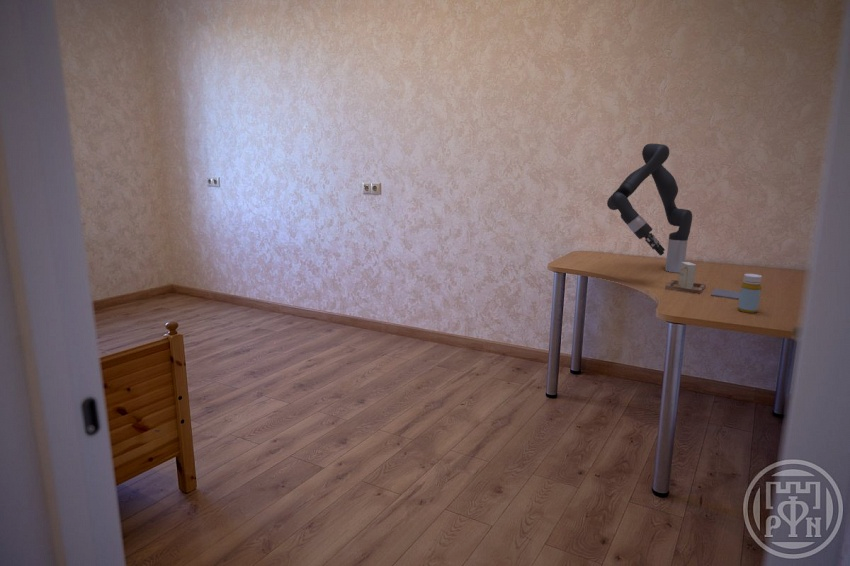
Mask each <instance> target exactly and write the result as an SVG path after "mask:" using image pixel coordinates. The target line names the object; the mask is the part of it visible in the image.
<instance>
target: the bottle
mask: <svg viewBox="0 0 850 566" xmlns="http://www.w3.org/2000/svg"><path fill="white" fill-rule="evenodd" d="M762 279H763V278H762V275H761V274H756V273H744V275H743V280H742V281H743V282H742V283H741V287H740V291H739V292H740V298H739V300H738V306H737V309H738V310H739V311H740V312H742V313H747V314H755V313H757V312H758V310H759V305H760V299H761V292H762V285H761V283H762Z"/></svg>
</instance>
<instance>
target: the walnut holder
mask: <svg viewBox="0 0 850 566" xmlns="http://www.w3.org/2000/svg"><path fill="white" fill-rule="evenodd" d="M678 281H679V280H675V279H671V280H670V281H669V282H668V283H667V284H666V285H665V286H664V287H665V288H664V290H667V289H670V290H669V291H674V290H676V292H681V291H683V292H684V293H688V292H689V293H690V294H695V293H698V294H697V295H701V294H700V293H702V292H703V291H704V290H705V289H706V284H705V283H699V282H698V283H697V282H694V283H693V286H694V287H693V289H690V288H682V287H678V286H674V285H678ZM696 288H697V289H696ZM704 288H705V289H704ZM683 292H682V293H683Z"/></svg>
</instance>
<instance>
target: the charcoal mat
mask: <svg viewBox="0 0 850 566" xmlns="http://www.w3.org/2000/svg"><path fill="white" fill-rule="evenodd" d="M740 292H741V291H734V290H728V289H721V288H715V289H713V291H712V292H711V294H710V296H711V297H716V296H717V298H718V297H719V298H723V297H724V299H725V298H726V299H730V298H731V299H732V300H738V301H739V298H740Z"/></svg>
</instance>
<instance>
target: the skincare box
mask: <svg viewBox="0 0 850 566" xmlns="http://www.w3.org/2000/svg"><path fill="white" fill-rule="evenodd" d="M696 269H697V264H696V263H692V262H689V261H685V262H681V268H680V273H678V275H679V276H678V280H677V281H678V284H677V287H682V288H690V289H694V287H693V283H695V275H696Z"/></svg>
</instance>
